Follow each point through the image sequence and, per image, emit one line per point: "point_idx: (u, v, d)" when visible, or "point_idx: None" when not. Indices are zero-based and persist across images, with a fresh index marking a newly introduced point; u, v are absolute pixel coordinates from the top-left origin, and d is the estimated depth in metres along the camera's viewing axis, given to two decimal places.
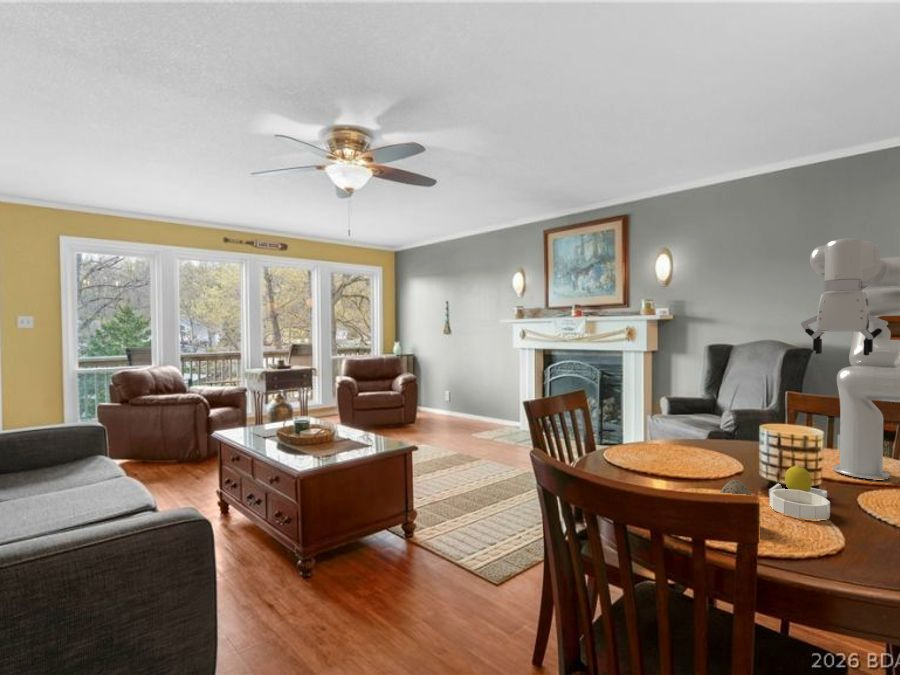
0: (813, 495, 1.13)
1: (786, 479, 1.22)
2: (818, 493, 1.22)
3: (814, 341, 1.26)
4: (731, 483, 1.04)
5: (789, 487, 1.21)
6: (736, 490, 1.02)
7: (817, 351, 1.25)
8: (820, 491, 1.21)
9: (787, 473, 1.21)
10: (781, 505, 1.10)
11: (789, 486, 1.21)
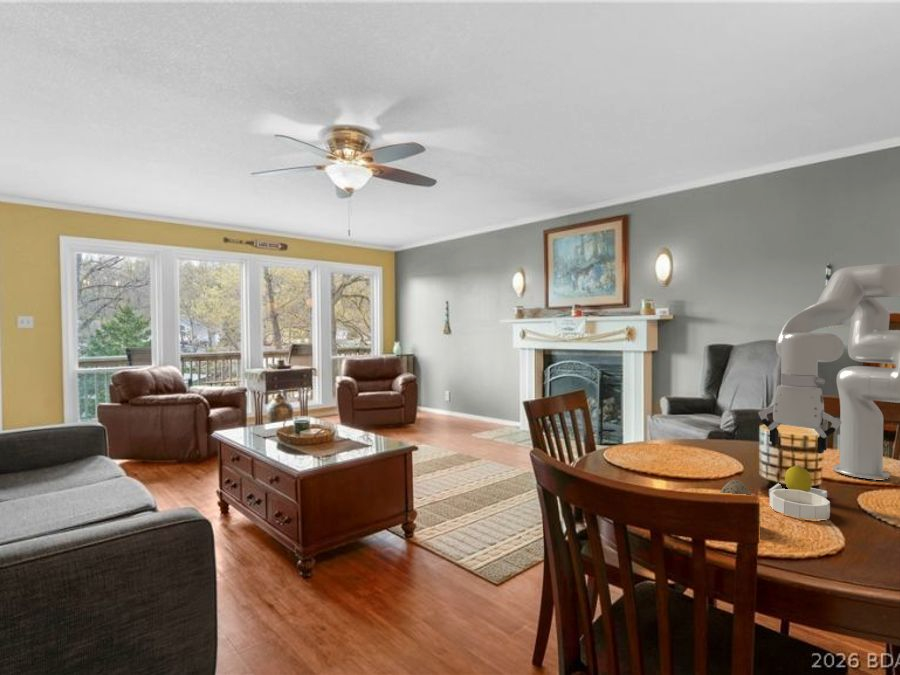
0: (813, 495, 1.13)
1: (786, 479, 1.22)
2: (818, 493, 1.22)
3: (770, 432, 1.24)
4: (731, 483, 1.04)
5: (789, 487, 1.21)
6: (736, 490, 1.02)
7: (773, 443, 1.23)
8: (820, 491, 1.21)
9: (787, 473, 1.21)
10: (781, 505, 1.10)
11: (789, 486, 1.21)
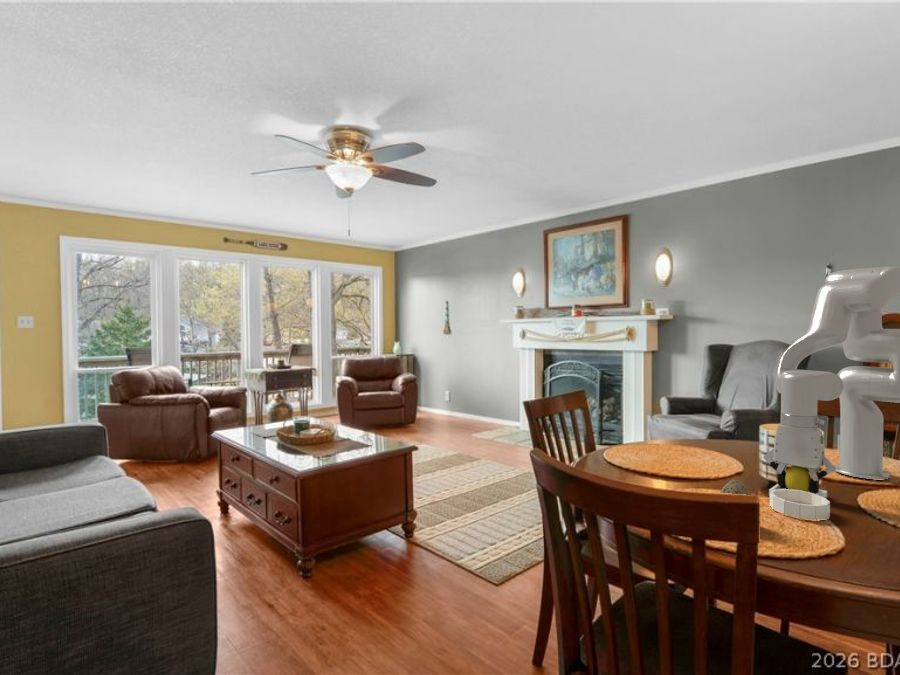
0: (813, 495, 1.13)
1: (786, 479, 1.22)
2: (818, 493, 1.22)
3: (779, 476, 1.24)
4: (731, 483, 1.04)
5: (789, 487, 1.21)
6: (736, 490, 1.02)
7: (782, 487, 1.23)
8: (820, 491, 1.21)
9: (787, 473, 1.21)
10: (781, 505, 1.10)
11: (789, 486, 1.21)
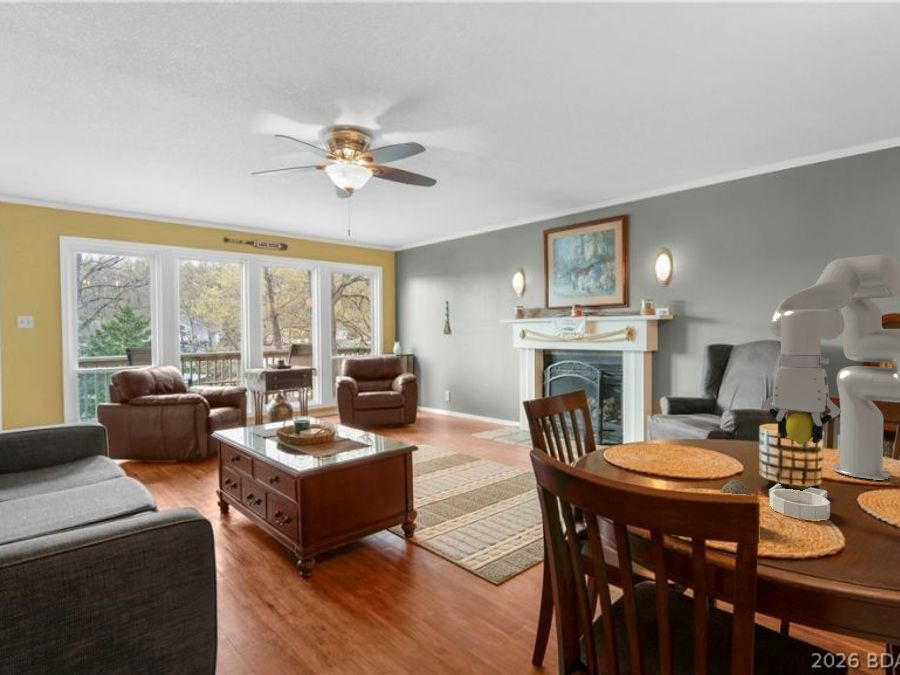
0: (813, 495, 1.13)
1: (787, 426, 1.11)
2: (818, 493, 1.22)
3: (779, 424, 1.13)
4: (731, 483, 1.04)
5: (790, 434, 1.11)
6: (736, 490, 1.02)
7: (782, 435, 1.12)
8: (820, 491, 1.21)
9: (788, 419, 1.11)
10: (781, 505, 1.10)
11: (790, 433, 1.10)
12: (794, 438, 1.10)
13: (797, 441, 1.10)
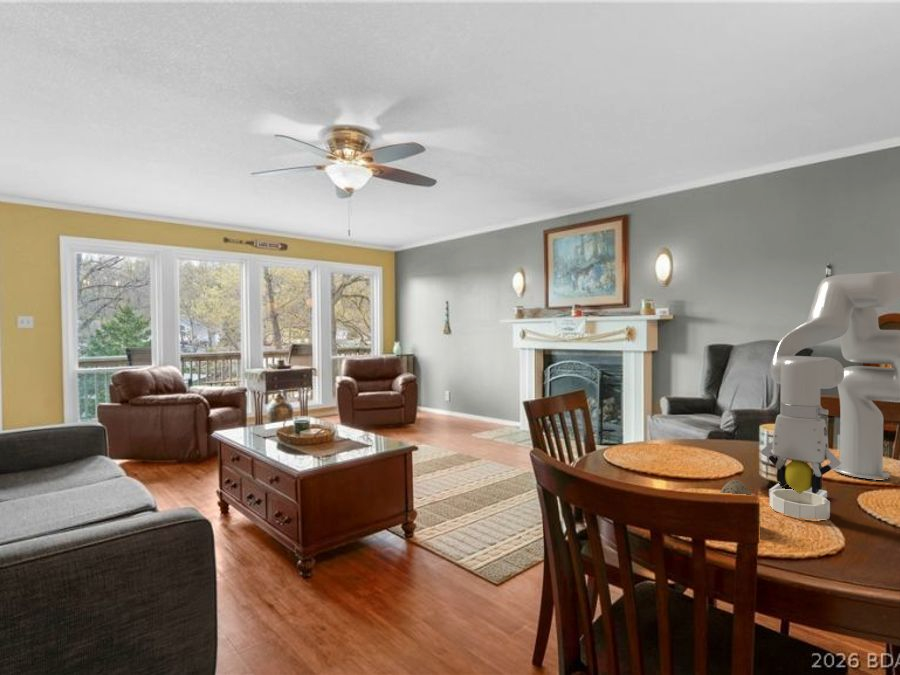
0: (813, 495, 1.13)
1: (786, 474, 1.11)
2: (818, 493, 1.22)
3: (778, 471, 1.14)
4: (731, 483, 1.04)
5: (789, 483, 1.11)
6: (736, 490, 1.02)
7: (781, 484, 1.12)
8: (820, 491, 1.21)
9: (788, 468, 1.11)
10: (781, 505, 1.10)
11: (789, 482, 1.11)
12: (793, 487, 1.10)
13: (796, 490, 1.10)
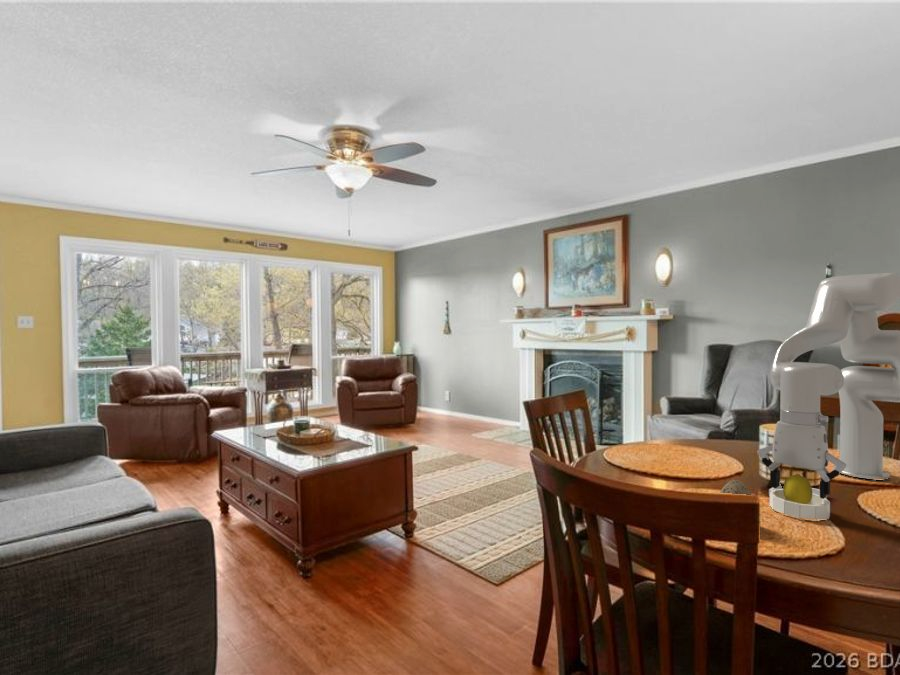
0: (813, 495, 1.13)
1: (785, 489, 1.12)
2: (818, 493, 1.22)
3: (771, 473, 1.15)
4: (731, 483, 1.04)
5: (788, 497, 1.11)
6: (736, 490, 1.02)
7: (774, 485, 1.14)
8: None
9: (786, 482, 1.12)
10: (781, 505, 1.10)
11: (788, 496, 1.11)
12: (792, 501, 1.11)
13: None
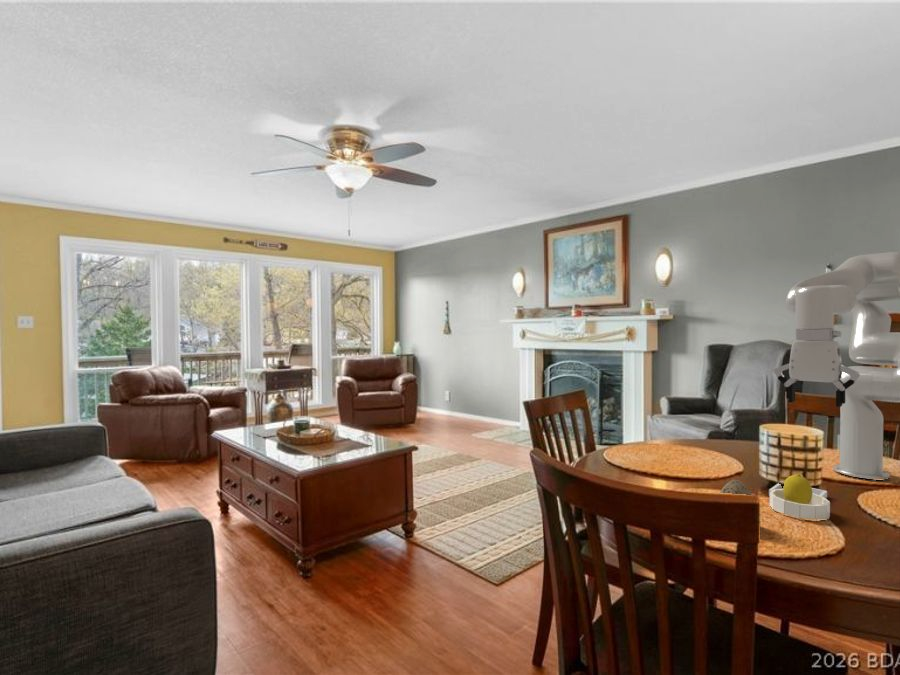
0: (813, 495, 1.13)
1: (784, 489, 1.12)
2: (818, 493, 1.22)
3: (787, 389, 1.23)
4: (731, 483, 1.04)
5: (788, 498, 1.11)
6: (736, 490, 1.02)
7: (790, 400, 1.22)
8: (820, 491, 1.21)
9: (786, 483, 1.12)
10: (781, 505, 1.10)
11: (788, 496, 1.11)
12: None
13: None
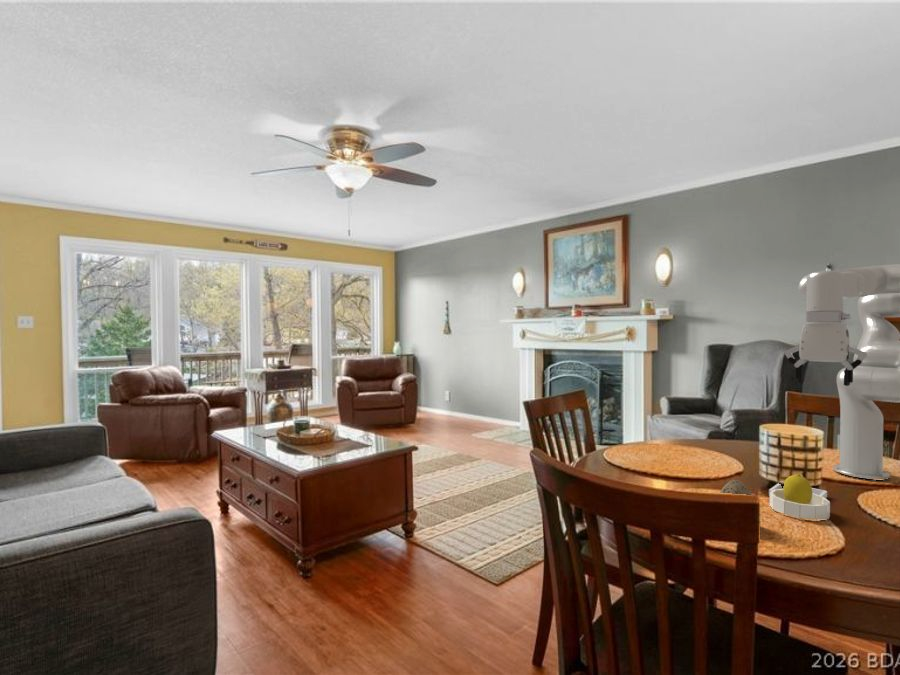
0: (813, 495, 1.13)
1: (784, 489, 1.12)
2: (818, 493, 1.22)
3: (797, 370, 1.29)
4: (731, 483, 1.04)
5: (788, 498, 1.11)
6: (736, 490, 1.02)
7: (799, 380, 1.28)
8: (820, 491, 1.21)
9: (786, 483, 1.12)
10: (781, 505, 1.10)
11: (788, 496, 1.11)
12: None
13: None
